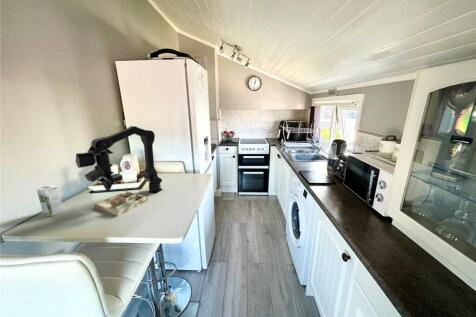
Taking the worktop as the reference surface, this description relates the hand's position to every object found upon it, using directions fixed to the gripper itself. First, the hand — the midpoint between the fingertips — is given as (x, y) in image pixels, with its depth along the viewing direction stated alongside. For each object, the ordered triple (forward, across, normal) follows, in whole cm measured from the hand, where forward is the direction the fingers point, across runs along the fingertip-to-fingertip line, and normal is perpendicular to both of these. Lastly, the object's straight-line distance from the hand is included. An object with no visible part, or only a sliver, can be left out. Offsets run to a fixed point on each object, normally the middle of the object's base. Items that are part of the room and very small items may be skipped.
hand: (108, 191), depth 102 cm
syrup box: (+10, -21, -16) cm, 28 cm away
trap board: (+10, +2, +5) cm, 11 cm away
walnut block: (+7, +8, 0) cm, 10 cm away
